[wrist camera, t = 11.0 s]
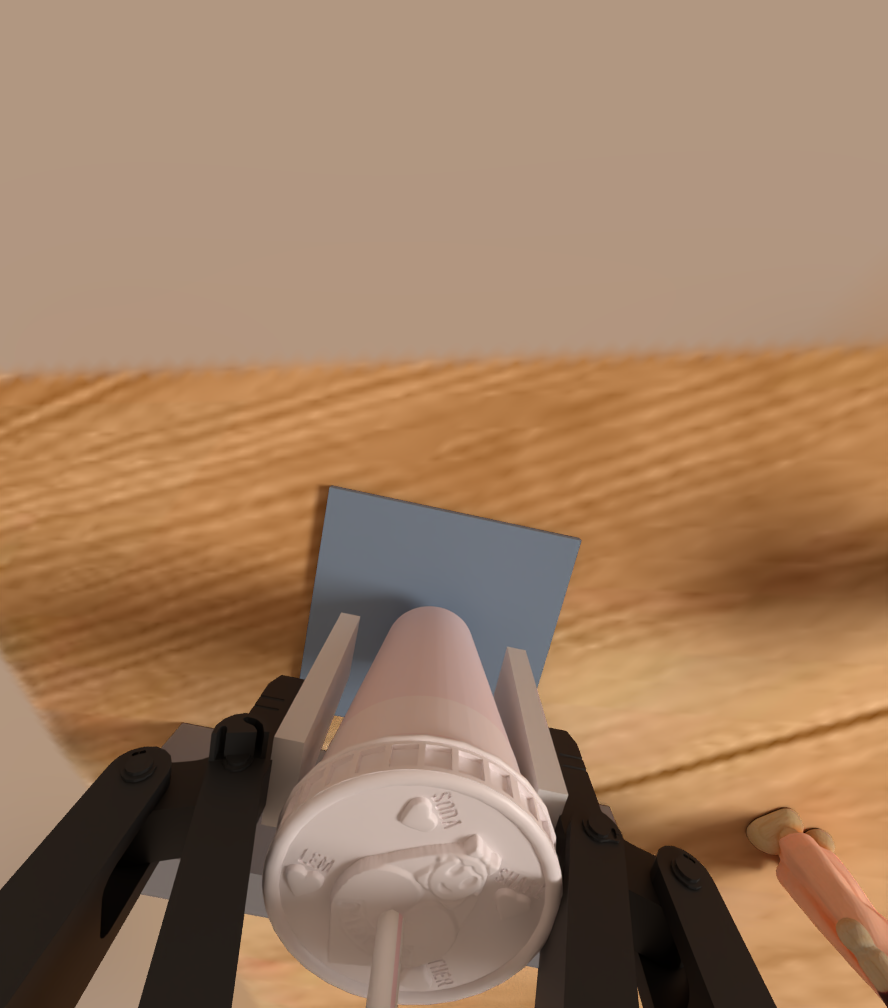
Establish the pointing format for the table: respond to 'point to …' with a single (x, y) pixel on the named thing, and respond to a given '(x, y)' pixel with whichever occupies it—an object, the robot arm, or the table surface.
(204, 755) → the divider wall
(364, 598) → the mat
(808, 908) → the grandmother figurine
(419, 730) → the smoothie
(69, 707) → the table surface
